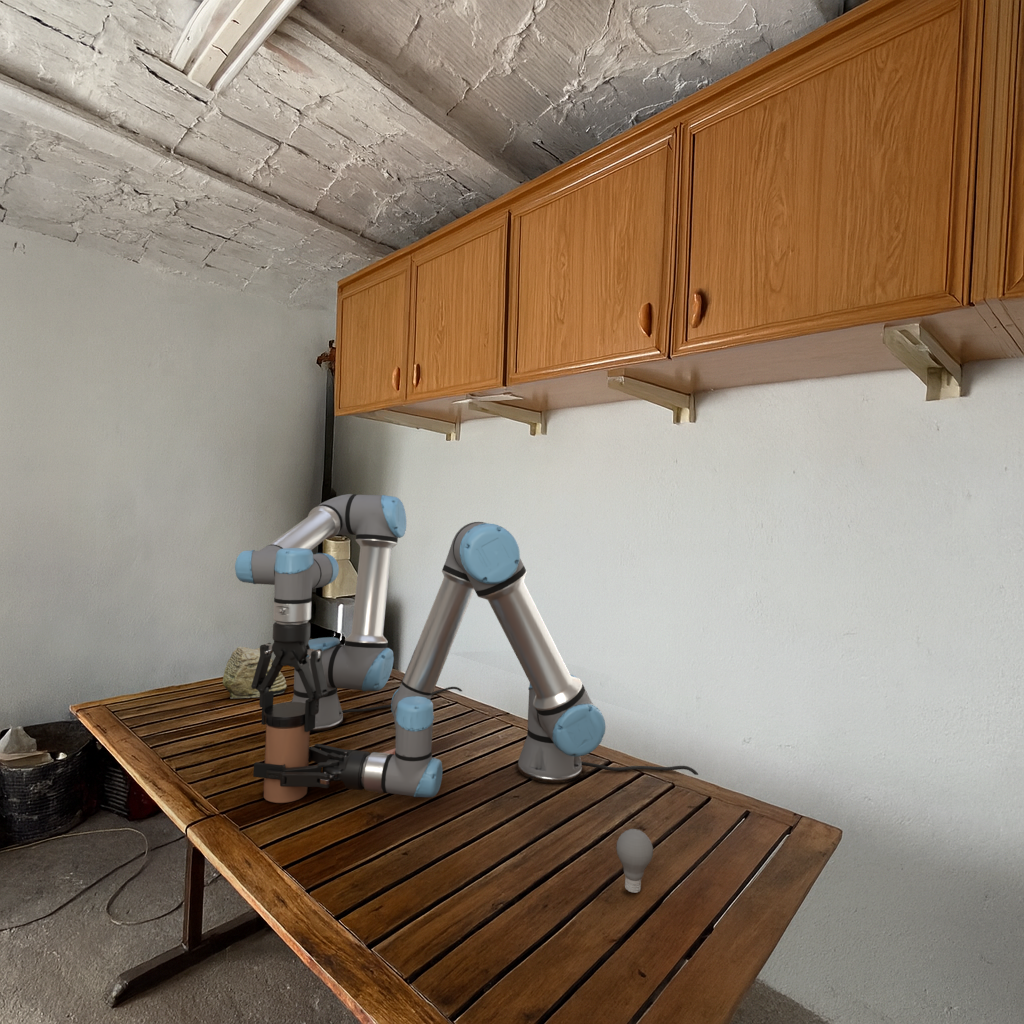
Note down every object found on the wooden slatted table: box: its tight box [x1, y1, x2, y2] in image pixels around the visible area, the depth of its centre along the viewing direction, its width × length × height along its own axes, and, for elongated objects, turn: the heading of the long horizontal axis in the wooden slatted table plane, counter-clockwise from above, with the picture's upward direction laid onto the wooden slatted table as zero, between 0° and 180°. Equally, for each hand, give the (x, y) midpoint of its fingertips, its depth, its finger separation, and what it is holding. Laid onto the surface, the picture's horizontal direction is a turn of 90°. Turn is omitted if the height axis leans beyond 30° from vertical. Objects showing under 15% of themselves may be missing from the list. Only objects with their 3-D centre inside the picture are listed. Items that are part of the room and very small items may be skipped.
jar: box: [262, 724, 311, 804], centre depth 135 cm, size 9×9×17 cm
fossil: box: [222, 646, 288, 699], centre depth 198 cm, size 9×18×15 cm, turn 132°
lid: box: [264, 701, 305, 727], centre depth 134 cm, size 10×10×2 cm
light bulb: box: [615, 828, 654, 894], centre depth 106 cm, size 6×6×10 cm
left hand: (288, 726), depth 134 cm, fingers closed on lid, 10 cm apart
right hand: (266, 760), depth 135 cm, fingers closed on jar, 9 cm apart
